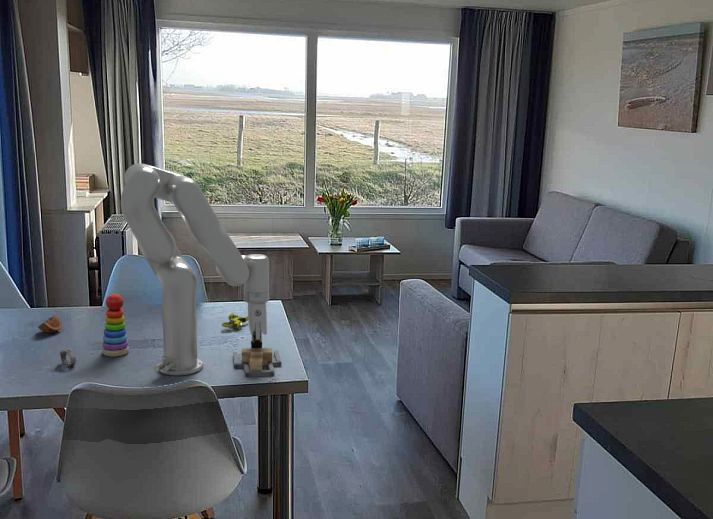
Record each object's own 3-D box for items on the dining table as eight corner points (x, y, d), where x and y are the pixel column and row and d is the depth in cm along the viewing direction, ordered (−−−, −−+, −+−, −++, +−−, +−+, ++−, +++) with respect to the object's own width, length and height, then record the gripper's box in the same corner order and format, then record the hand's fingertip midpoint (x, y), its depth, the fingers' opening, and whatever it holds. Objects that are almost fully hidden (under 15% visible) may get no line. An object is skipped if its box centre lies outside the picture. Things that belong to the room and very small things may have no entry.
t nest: (233, 356, 212) (233, 352, 212) (278, 354, 215) (278, 350, 214) (235, 377, 196) (235, 373, 195) (284, 374, 198) (284, 370, 198)
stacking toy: (100, 358, 207) (97, 298, 202) (103, 349, 214) (100, 291, 210) (128, 356, 209) (126, 297, 205) (129, 347, 216) (127, 290, 212)
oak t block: (242, 360, 208) (242, 348, 207) (272, 360, 209) (272, 348, 208) (240, 374, 198) (239, 361, 197) (271, 373, 199) (271, 360, 198)
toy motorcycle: (230, 310, 245) (249, 311, 245) (230, 320, 246) (249, 322, 246) (220, 320, 234) (240, 322, 233) (220, 331, 235) (240, 332, 234)
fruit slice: (53, 337, 224) (52, 322, 222) (33, 336, 224) (32, 321, 223) (65, 329, 232) (65, 314, 231) (46, 328, 232) (45, 313, 231)
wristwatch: (68, 361, 204) (67, 345, 203) (79, 366, 200) (78, 350, 199) (57, 364, 201) (56, 347, 200) (68, 369, 197) (67, 353, 196)
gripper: (271, 302, 200) (271, 361, 204) (266, 288, 214) (266, 344, 218) (245, 303, 198) (245, 363, 202) (242, 289, 212) (242, 345, 216)
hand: (256, 353), depth 210 cm, fingers closed
